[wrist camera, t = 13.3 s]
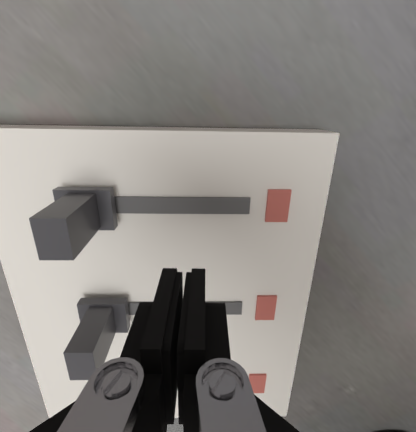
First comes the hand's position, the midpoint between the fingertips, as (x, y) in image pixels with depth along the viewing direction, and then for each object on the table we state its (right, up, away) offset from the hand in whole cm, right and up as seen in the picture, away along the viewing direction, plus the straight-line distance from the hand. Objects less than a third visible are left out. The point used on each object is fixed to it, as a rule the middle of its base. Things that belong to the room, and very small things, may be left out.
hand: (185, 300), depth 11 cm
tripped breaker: (-7, +4, +8) cm, 11 cm away
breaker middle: (-7, -4, +11) cm, 14 cm away
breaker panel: (-3, -3, +15) cm, 15 cm away
